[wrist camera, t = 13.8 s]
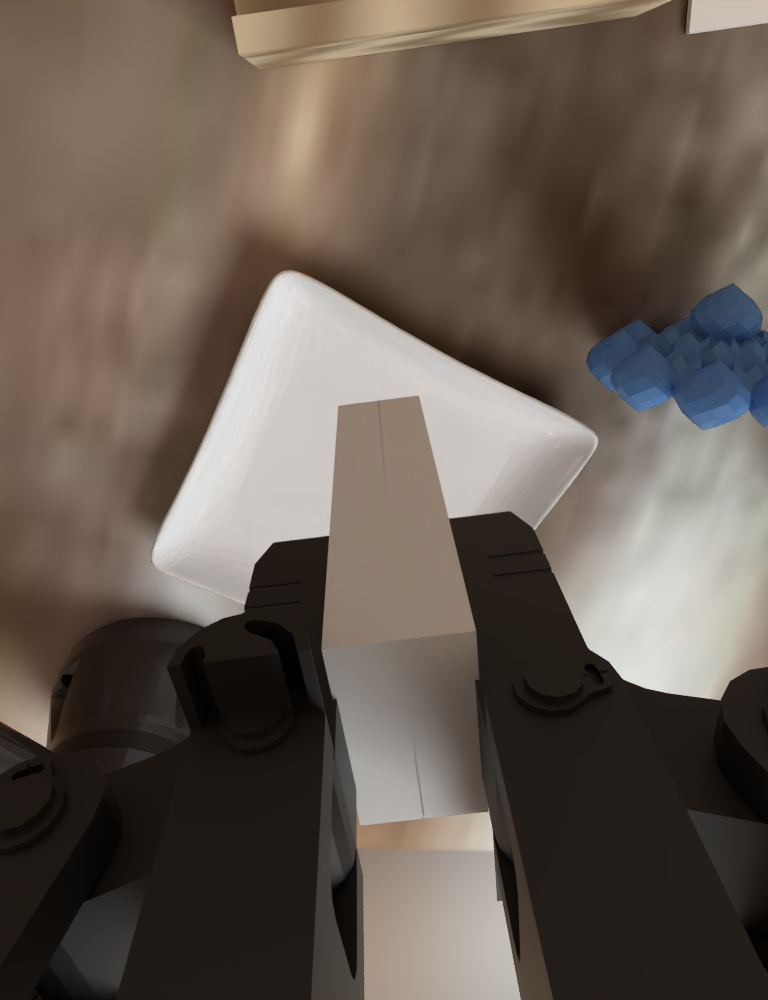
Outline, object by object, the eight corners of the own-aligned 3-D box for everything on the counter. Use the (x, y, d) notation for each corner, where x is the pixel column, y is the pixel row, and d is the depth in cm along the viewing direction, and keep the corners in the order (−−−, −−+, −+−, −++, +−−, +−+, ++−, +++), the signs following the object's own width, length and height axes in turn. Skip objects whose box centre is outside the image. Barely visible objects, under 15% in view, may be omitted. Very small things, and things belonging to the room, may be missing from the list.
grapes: (783, 260, 37) (954, 309, 26) (751, 377, 40) (892, 461, 29) (577, 264, 36) (667, 315, 26) (563, 381, 40) (637, 468, 29)
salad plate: (282, 250, 36) (276, 260, 33) (591, 417, 41) (609, 439, 38) (155, 540, 44) (141, 569, 41) (424, 646, 50) (428, 679, 47)
